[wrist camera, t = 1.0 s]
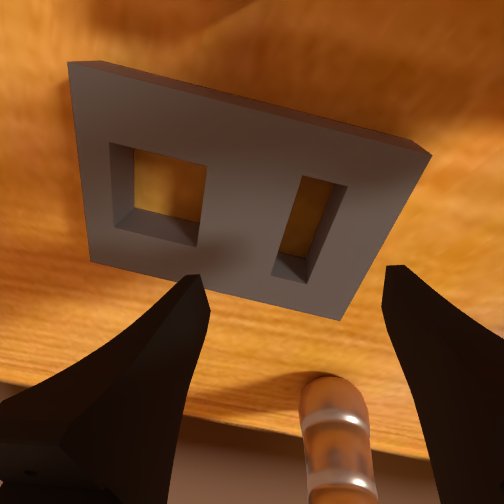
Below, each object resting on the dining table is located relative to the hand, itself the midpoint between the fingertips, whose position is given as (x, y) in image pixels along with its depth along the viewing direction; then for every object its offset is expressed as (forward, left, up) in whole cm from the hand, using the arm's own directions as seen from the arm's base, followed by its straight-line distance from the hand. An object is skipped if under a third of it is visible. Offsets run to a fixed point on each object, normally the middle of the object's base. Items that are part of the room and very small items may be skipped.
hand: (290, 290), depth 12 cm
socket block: (+3, +1, -9) cm, 10 cm away
